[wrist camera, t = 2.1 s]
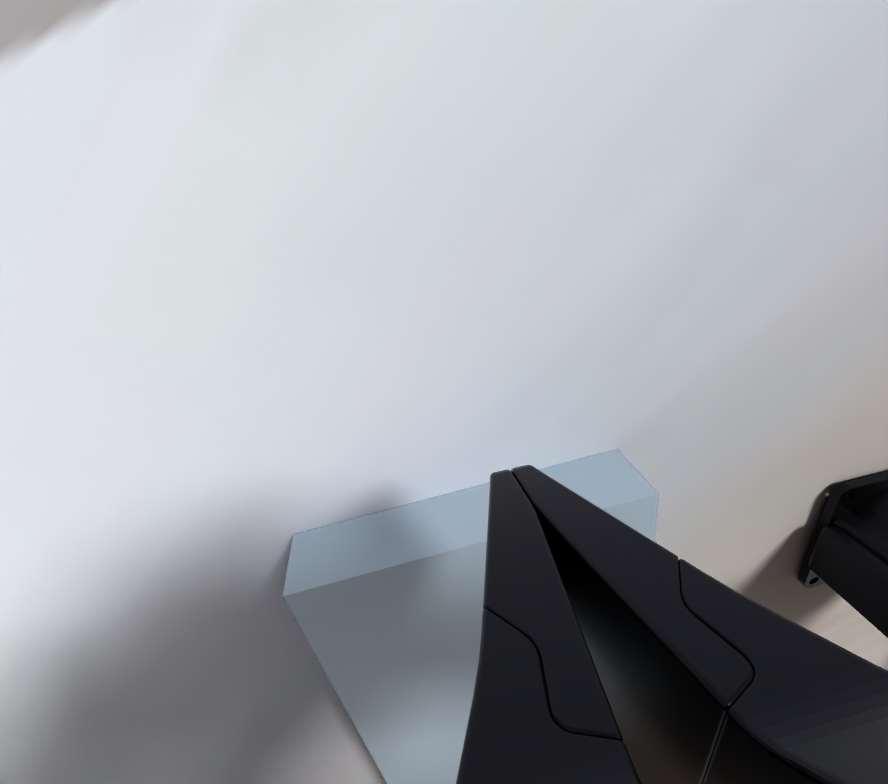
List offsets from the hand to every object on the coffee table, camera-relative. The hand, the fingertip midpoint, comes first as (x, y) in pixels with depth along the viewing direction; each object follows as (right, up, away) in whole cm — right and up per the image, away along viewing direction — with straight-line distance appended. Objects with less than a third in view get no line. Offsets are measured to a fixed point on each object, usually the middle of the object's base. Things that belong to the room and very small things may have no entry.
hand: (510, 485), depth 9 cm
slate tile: (+1, -9, +11) cm, 15 cm away
